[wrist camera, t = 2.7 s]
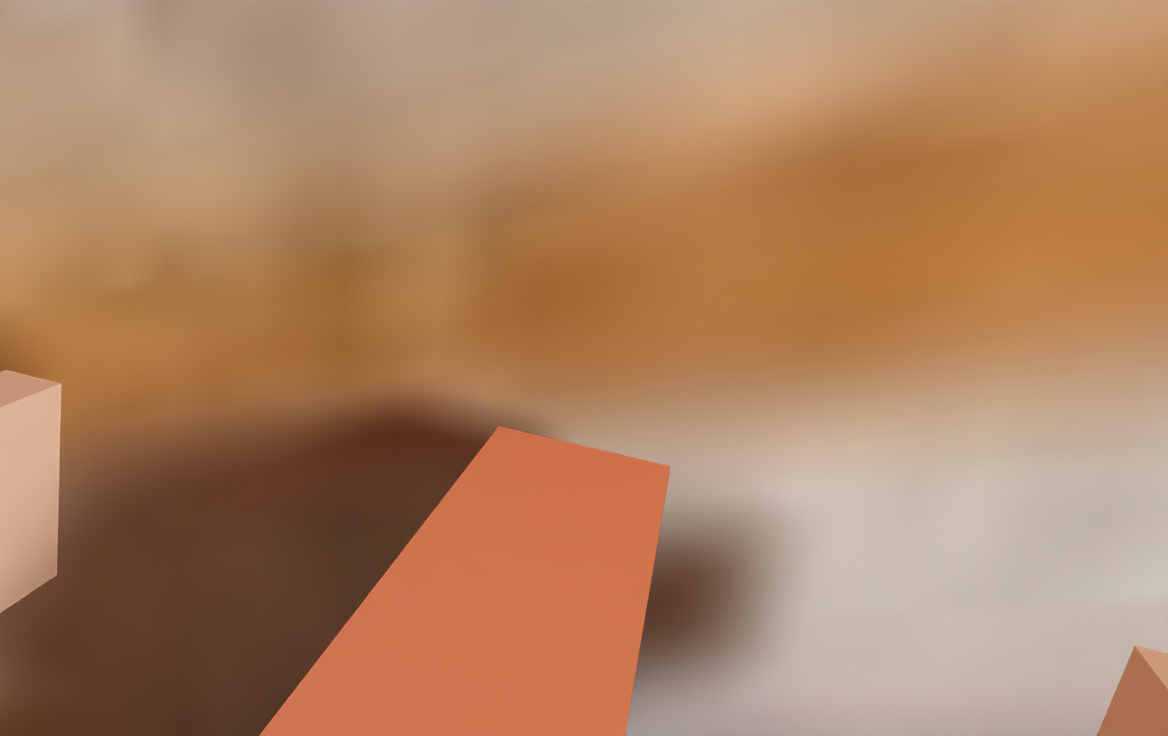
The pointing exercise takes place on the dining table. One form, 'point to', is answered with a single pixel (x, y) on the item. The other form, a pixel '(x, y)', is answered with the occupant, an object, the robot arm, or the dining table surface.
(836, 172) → the dining table surface
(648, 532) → the orange rectangular block
